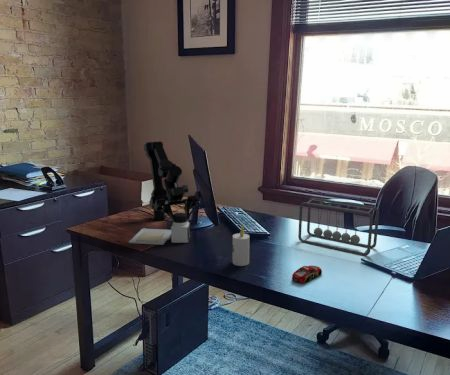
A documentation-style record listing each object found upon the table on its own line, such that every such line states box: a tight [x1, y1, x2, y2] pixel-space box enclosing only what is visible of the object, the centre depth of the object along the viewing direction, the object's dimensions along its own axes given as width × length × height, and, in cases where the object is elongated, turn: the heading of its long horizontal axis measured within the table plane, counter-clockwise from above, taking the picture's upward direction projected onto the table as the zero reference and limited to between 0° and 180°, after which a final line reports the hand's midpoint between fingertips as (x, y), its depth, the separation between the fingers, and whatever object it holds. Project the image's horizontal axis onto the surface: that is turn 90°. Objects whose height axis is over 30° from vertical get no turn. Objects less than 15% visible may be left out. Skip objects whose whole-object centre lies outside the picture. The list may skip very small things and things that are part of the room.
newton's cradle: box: [298, 197, 380, 257], centre depth 166 cm, size 30×10×18 cm, turn 56°
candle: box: [231, 224, 251, 267], centre depth 149 cm, size 6×6×15 cm
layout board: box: [128, 227, 171, 246], centre depth 177 cm, size 17×15×1 cm
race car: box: [291, 265, 323, 284], centre depth 139 cm, size 13×5×4 cm, turn 132°
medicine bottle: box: [170, 211, 191, 244], centre depth 172 cm, size 7×7×12 cm
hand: (181, 219), depth 170 cm, fingers closed on medicine bottle, 6 cm apart
